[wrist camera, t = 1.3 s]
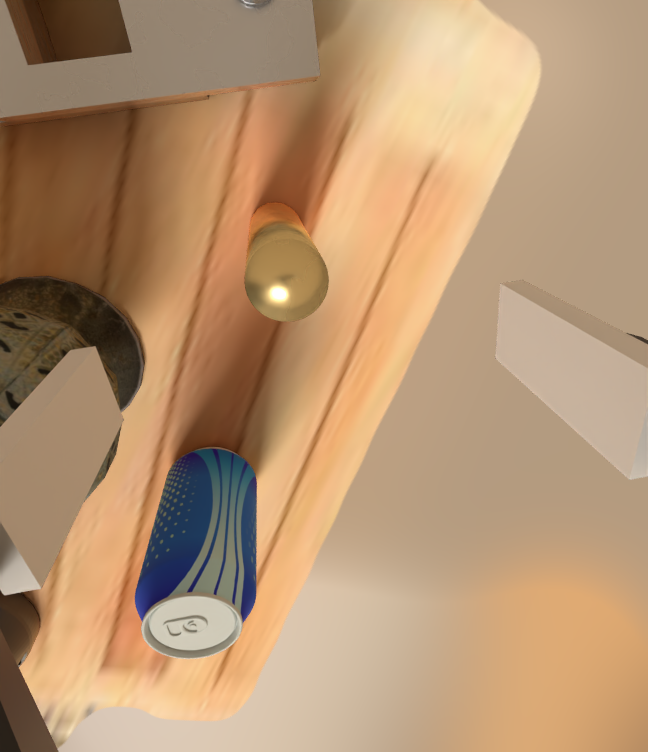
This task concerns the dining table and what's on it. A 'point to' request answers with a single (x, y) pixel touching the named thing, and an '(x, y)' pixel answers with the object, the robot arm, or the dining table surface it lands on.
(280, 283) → the brass pin
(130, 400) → the lantern
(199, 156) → the dining table surface
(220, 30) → the grey device box
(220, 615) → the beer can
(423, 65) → the dining table surface
